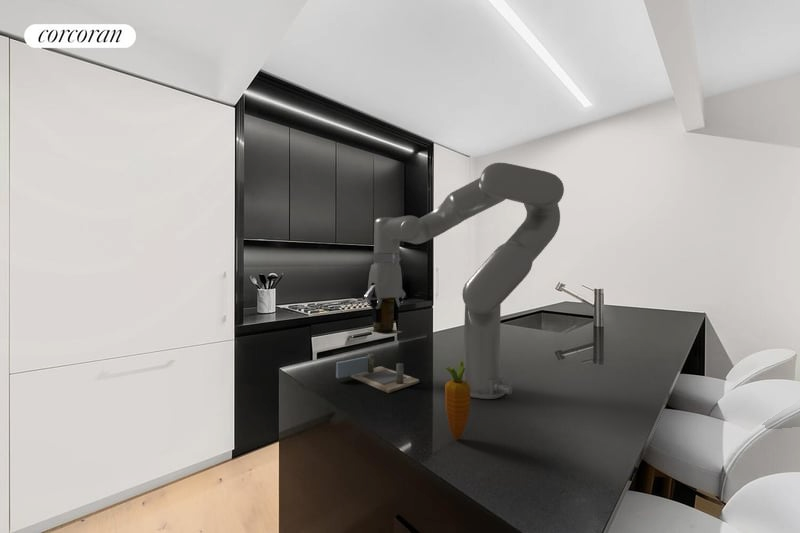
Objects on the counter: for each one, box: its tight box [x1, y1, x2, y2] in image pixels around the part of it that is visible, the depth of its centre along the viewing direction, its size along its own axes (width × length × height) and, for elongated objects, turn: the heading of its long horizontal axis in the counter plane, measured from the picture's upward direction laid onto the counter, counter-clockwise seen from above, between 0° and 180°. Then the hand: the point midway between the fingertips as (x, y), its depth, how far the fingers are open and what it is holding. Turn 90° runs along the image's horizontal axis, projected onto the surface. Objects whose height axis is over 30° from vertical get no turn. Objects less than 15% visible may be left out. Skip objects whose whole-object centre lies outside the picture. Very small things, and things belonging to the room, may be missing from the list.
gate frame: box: [350, 353, 420, 394], centre depth 99 cm, size 17×12×6 cm
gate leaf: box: [335, 356, 368, 379], centre depth 99 cm, size 10×1×4 cm, turn 130°
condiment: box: [367, 298, 403, 335], centre depth 98 cm, size 7×8×12 cm
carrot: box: [444, 360, 471, 441], centre depth 65 cm, size 5×5×15 cm
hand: (385, 320), depth 98 cm, fingers closed on condiment, 6 cm apart
